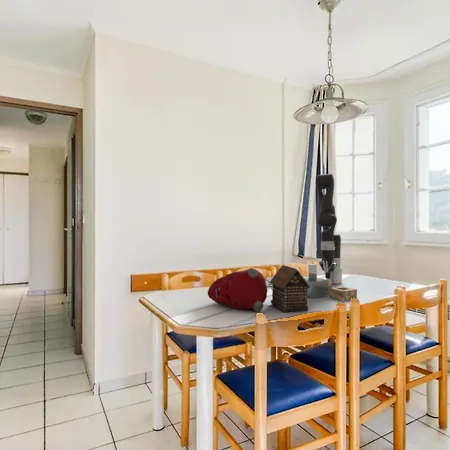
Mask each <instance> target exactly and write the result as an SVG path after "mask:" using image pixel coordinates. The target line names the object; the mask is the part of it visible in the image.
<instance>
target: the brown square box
mask: <svg viewBox="0 0 450 450" xmlns="http://www.w3.org/2000/svg"><path fill="white" fill-rule="evenodd" d="M329 291H330V295H329V298H331V299H335V300H339V301H341V302H342V301H343V302H344V301H351V300H350V299H351V298H357V299H358V289H356V288H352V287H347V286H337V287H334V288H329Z"/></svg>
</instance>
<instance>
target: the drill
mask: <svg viewBox="0 0 450 450" xmlns="http://www.w3.org/2000/svg"><path fill="white" fill-rule="evenodd" d="M307 265H308V266H307V267H308V271H307V272H308V276H307V277H308V278H309V280H317V278H318V277H317V276H318V275H317V273H318V272H317V271H318V269H317V265H318V264H314V263H309V264H307Z"/></svg>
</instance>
